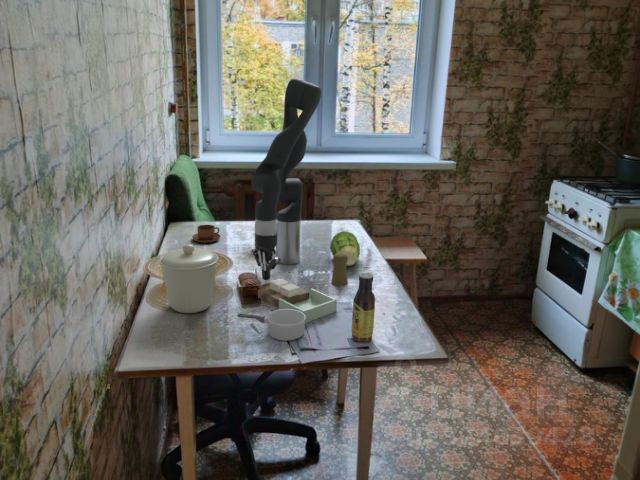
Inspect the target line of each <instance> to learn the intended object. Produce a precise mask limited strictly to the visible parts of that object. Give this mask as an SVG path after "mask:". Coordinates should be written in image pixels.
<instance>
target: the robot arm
mask: <svg viewBox="0 0 640 480" xmlns="http://www.w3.org/2000/svg"><path fill="white" fill-rule="evenodd" d="M284 92H285V93H284V102H283V104H284V107H283V108H284V109H283V125H282V130H281V132H279V133H278V134H277V135H276V136H275V137H274V139H273V140H272V141H271V145H270V146H269V149H268V150H267V154H266V156H265V158H264V159H263V160H262V161H261V162H260V164H259V165H258V166H257V168H256V169H255V171H254V172H253V174H252V177H251V187H252V189H253V190H254V191H255V192H257V193H260V194H262V196H261V197H262V198H261V199H260V200H258V201H257V202H256V203H255V209H254V210H255V214H254V215H255V218H254V219H255V221H254V246H255V245H256V246H257V249H256V248H255V249H253V250H252V252H251V253H252V255H253V257H254V259H255V262H256V264H257V266H258V267H260V269H261V279H262V280H263V281H269V280H271V270H275V268H276V267H277V265H278V264H280V265H284V266H285V265H288V266H291V265H296V264H299V263H300V262H301V241H302V240H301V235H302V234H301V233H302V231H301V228H302V205H303V183H302V180H301V179H300V178H295V177H294V178H291V177H290V178H288V177H289V175H290V174H291V172H293V171H294V169H295V168H296V167H298V165H300V163H301V162H302V160H303V159H304V158H305V156H306V151H307V149H306V148H307V143H308V137H307V135H306V131H305V128H306V127H307V125H308V123H309V122H310V120H311V118H312V117H313V115H314V113H315V111H316V110H317V108H318V106H319V103H320V102H321V98H322V88H321V87H320V86H319V85H317V84H314V83H312V82H308V81H306V80H303V79H301V78H297V77H292V78H290V80H289V81H288V83H287V85H286V88H285V91H284ZM298 110H300V111H301V113H300V115H299V114H298ZM278 203H280V204H287V203H290V204H289V206H287V207H285V208H283V209H281V210H278V212H277V207H278V205H279V204H278Z"/></svg>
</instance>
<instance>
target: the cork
mask: <svg viewBox="0 0 640 480" xmlns="http://www.w3.org/2000/svg"><path fill="white" fill-rule="evenodd" d="M332 260H333V262H334V264H333V270H332V275H331V281H330V283H331V284H332V285H333V286H336V287H337V286H338V287H341V286H342V287H343V286H346V285H348V283H349V281H348V271H347V266H346V263H347V261H348V257H347V255H346V254H344V253H337V254H335V255H334V256H332Z"/></svg>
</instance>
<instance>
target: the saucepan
mask: <svg viewBox="0 0 640 480" xmlns="http://www.w3.org/2000/svg"><path fill="white" fill-rule="evenodd" d="M237 317H238V318H245V319H254V320H257V321H258V322H260V323H261V324H267V334H268V335H269V336H270V337H272V338H274V339H276V340H279V341H288V342H289V341H294V340H297V339H299V338H301V337H302V336H304V334H305V330H306V329H305V325H306V323H305V320H306V315H305V314H304V313H303V312H301V311H298V310H294V309H274V310H272V311H270V312H269V313H268V314H267V315H266V316H265V315H262V316H261V315H258V314H247V313H237Z"/></svg>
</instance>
